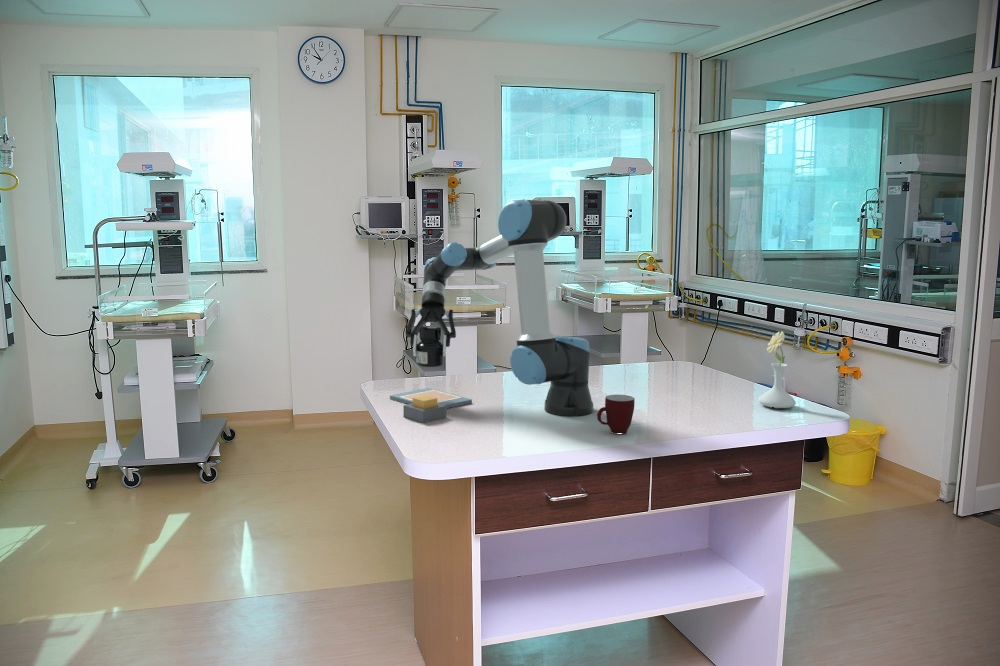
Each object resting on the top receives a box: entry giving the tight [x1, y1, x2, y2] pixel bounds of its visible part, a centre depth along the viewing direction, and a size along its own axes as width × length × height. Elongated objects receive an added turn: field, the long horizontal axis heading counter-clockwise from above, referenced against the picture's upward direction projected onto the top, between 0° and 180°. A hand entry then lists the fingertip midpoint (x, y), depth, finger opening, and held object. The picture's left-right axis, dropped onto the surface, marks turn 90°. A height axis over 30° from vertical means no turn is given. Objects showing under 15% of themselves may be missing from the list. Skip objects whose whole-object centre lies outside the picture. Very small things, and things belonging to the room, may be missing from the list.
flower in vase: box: [757, 330, 796, 409], centre depth 244 cm, size 13×11×25 cm
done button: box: [412, 395, 437, 409], centre depth 228 cm, size 5×5×4 cm
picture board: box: [389, 387, 473, 409], centre depth 248 cm, size 22×16×1 cm
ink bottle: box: [415, 326, 445, 368], centre depth 246 cm, size 10×9×12 cm
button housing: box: [403, 403, 447, 423], centre depth 228 cm, size 9×9×4 cm
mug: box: [596, 394, 636, 434], centre depth 214 cm, size 11×8×10 cm
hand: (429, 354), depth 243 cm, fingers closed on ink bottle, 9 cm apart
